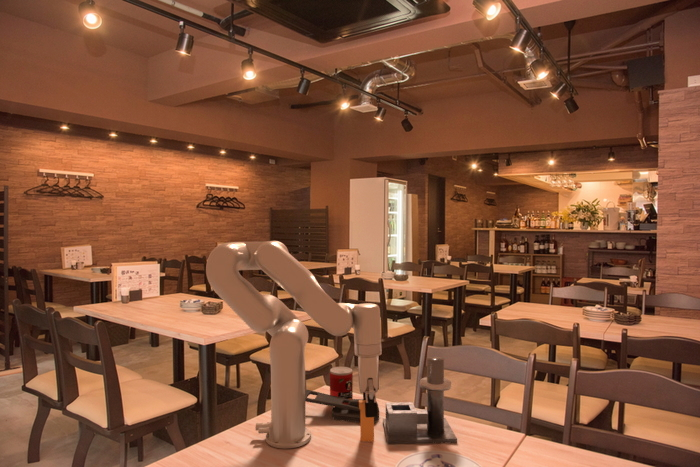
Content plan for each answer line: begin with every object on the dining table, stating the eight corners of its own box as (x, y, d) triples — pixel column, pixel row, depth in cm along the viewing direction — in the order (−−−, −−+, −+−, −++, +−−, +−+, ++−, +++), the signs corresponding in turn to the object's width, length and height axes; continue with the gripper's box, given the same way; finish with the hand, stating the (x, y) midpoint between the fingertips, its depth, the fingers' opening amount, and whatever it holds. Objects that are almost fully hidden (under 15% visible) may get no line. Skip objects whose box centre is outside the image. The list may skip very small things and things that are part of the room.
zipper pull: (304, 388, 152) (380, 392, 147) (304, 408, 152) (380, 413, 148) (297, 397, 143) (377, 402, 139) (297, 419, 143) (377, 424, 139)
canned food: (340, 408, 151) (340, 375, 151) (325, 401, 157) (325, 369, 157) (357, 402, 156) (357, 370, 156) (341, 396, 162) (341, 365, 162)
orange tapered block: (359, 441, 127) (359, 404, 127) (359, 437, 130) (359, 400, 130) (375, 441, 127) (375, 404, 127) (374, 436, 130) (374, 400, 130)
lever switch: (387, 444, 126) (387, 366, 126) (382, 422, 140) (382, 352, 140) (457, 443, 127) (457, 365, 126) (445, 421, 141) (445, 352, 140)
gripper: (353, 341, 137) (355, 399, 137) (355, 357, 120) (358, 423, 120) (378, 340, 137) (380, 397, 138) (384, 356, 120) (386, 422, 120)
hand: (370, 409), depth 129 cm, fingers open, 9 cm apart
